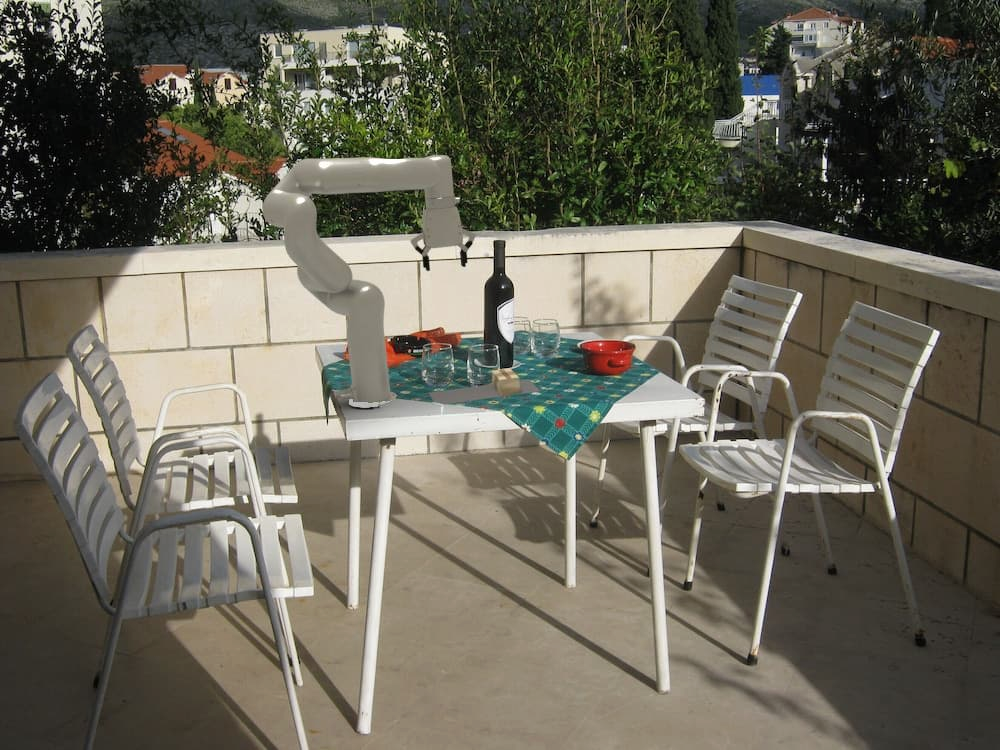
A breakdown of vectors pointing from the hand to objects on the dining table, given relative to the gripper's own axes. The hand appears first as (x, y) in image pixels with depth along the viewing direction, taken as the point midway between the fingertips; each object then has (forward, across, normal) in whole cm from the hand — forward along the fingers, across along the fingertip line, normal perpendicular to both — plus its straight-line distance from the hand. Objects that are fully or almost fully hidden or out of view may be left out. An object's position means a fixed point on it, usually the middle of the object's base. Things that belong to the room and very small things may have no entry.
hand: (445, 268), depth 285 cm
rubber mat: (+30, -4, +19) cm, 36 cm away
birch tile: (+30, -10, +19) cm, 37 cm away
